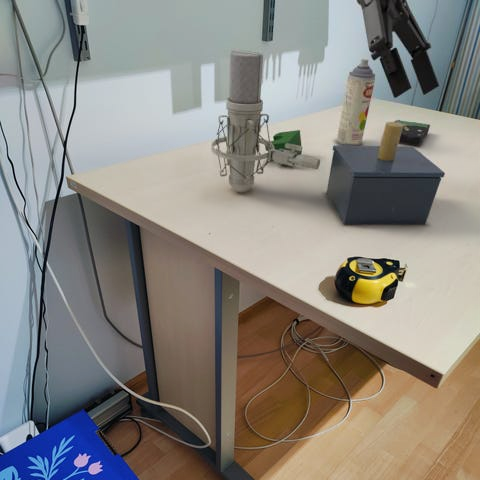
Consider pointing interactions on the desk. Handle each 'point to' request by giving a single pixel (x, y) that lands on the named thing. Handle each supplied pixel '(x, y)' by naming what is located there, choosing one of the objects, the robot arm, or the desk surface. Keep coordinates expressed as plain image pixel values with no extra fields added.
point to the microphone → (250, 125)
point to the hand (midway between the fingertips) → (418, 91)
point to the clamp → (286, 141)
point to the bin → (380, 197)
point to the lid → (387, 158)
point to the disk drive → (413, 132)
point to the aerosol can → (356, 105)
